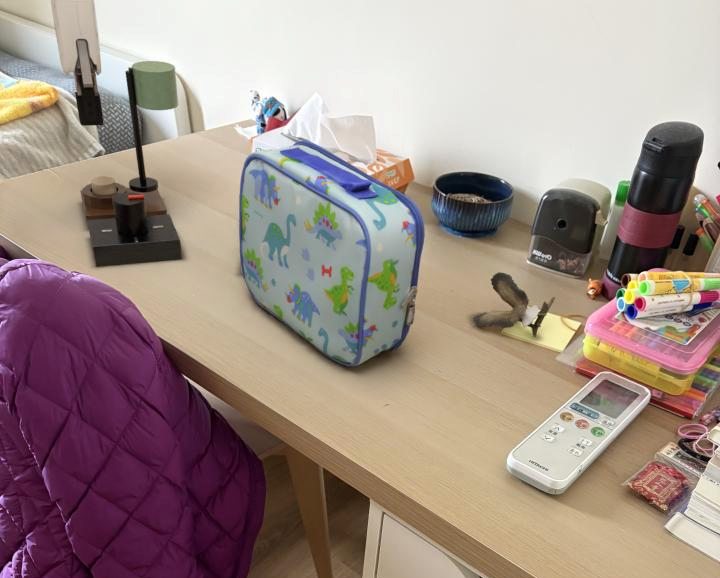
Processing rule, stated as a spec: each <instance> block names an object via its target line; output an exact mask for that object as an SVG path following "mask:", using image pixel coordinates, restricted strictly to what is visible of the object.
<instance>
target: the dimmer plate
mask: <svg viewBox="0 0 720 578" xmlns="http://www.w3.org/2000/svg"><path fill="white" fill-rule="evenodd" d="M147 222H148V231H147V232H145V233H144V234H141V235H134V236H130V235H123V234H121V233H119V232H118V231H117V227H116V220H115V218H111V219H96V220H87V221H86V225H87V224H88V226H87V230H88V229H89V230H88V234H89V239H90V243H91V249H92V253H93V257H94V262H95V267H107V266H117V265H128V264H129V265H130V264H141V263H153V262H161V261H173V260H174V261H175V260H182V258H183V256H182V247H181V246H182V245H181V239H180V236H179V234H178V232H177V231H178V230H177V229H176V227H175V224H174V221H173V219H172V217H171V215H170V213H169V214H168V213H167V215H153V216H147Z"/></svg>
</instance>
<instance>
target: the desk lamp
mask: <svg viewBox="0 0 720 578" xmlns="http://www.w3.org/2000/svg"><path fill="white" fill-rule="evenodd" d="M127 69H128V70H125V72H124V73H125V80H126V88H127V94H128V95H127V96H128V102H129V103H128V104H129V111H130V117H131V124H132V125H131V126H132V133H133V139H134V140H133V141H134V148H135V156H136V162H137V170H138V177H134V178H131V179H130V180H129V181H128V188H130V189H131V190H132V191H135V192H142V193H145V192H152V191H155V190H157V189H158V190H159V182H158V180H157V179H155V178H153V177H149V176H147V174H146V168H145V160H144V159H145V158H144V152H143V151H144V150H143V144H142V143H143V142H142V136H141V126H140V119H139V111H138V107H139V108H141V109H143V110H149V111H168V110H173V109H176V108H177V107H178V106H179V99H178V98H179V97H178V87H177V86H178V85H177V77H176V76H177V75H176V67H175V65H174V64H172V63H169V62H166V61H159V60H145V61H144V60H143V61H138V62H135V63H132V65H131V67H130V66H129V67H128V68H127Z"/></svg>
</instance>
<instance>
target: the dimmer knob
mask: <svg viewBox="0 0 720 578" xmlns="http://www.w3.org/2000/svg"><path fill="white" fill-rule="evenodd" d="M112 202H113V208H114V214H115V220H116V227H117V231H118V232H119V233H121V234H123V235H130V236H134V235H141V234H144V233H145V232H147V231H148V222H147V214H146V206H145V199H144V195H140V194H137V193H120V194H117V195H115V196H114V197H113V198H112Z"/></svg>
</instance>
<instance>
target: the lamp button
mask: <svg viewBox="0 0 720 578" xmlns="http://www.w3.org/2000/svg"><path fill="white" fill-rule="evenodd" d="M116 183H117V182H116V179H115V178H113V177H112V176H107V175H106V176H102V175H101V176H95V177H93V178H91V179H90V184H91V186H92V192H93V193H94V194H97V195H110V194H113V193H116V192H117V190H116Z"/></svg>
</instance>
